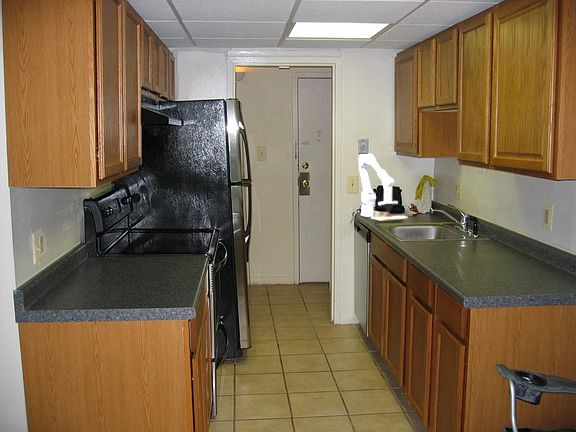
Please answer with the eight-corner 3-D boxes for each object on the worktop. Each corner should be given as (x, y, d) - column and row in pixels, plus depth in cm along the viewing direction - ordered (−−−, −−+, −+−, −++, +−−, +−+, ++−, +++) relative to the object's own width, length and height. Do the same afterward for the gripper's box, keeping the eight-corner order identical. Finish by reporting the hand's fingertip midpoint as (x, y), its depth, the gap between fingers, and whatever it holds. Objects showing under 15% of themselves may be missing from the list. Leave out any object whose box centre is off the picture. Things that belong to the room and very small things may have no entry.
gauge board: (370, 218, 439) (370, 211, 439) (397, 215, 448) (397, 208, 447) (380, 220, 428) (380, 213, 427) (408, 218, 436) (408, 211, 435)
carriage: (380, 216, 440) (380, 212, 440) (384, 215, 441) (384, 211, 441) (388, 218, 431) (388, 213, 430) (392, 217, 432) (392, 213, 432)
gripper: (382, 196, 431) (381, 216, 433) (400, 195, 436) (399, 214, 438) (376, 195, 437) (376, 214, 439) (394, 194, 443) (394, 213, 445)
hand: (387, 214), depth 439 cm, fingers closed
